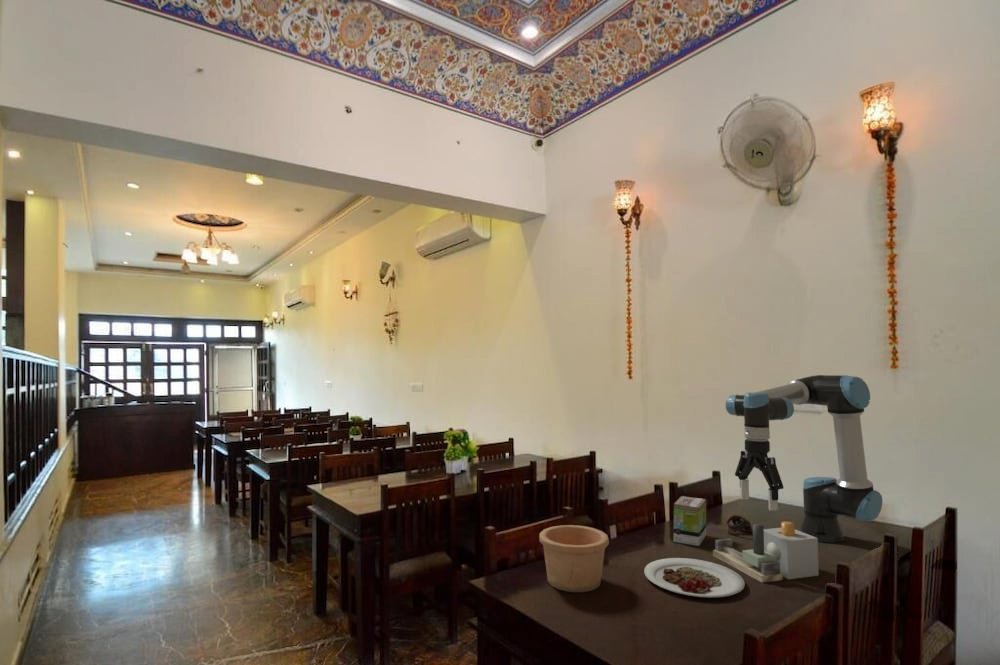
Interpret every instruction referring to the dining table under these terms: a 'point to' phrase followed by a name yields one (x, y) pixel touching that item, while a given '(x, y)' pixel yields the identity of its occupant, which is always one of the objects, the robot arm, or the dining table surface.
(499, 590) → the dining table surface
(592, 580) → the pottery
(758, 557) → the carriage
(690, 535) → the tea box
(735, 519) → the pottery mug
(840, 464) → the robot arm
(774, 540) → the grey cube box
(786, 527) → the plunger
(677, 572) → the plated food
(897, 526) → the dining table surface
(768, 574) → the rail board
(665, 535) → the dining table surface
